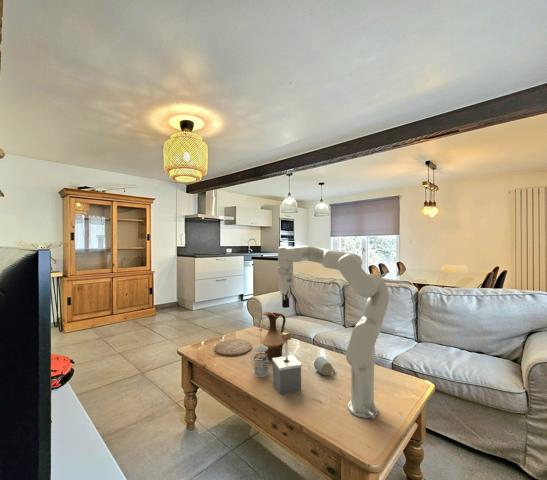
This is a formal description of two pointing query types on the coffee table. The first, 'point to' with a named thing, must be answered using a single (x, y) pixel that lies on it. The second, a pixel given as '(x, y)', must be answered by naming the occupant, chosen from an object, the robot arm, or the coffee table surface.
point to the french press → (260, 361)
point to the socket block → (286, 374)
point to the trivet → (233, 347)
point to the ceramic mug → (323, 366)
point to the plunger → (286, 343)
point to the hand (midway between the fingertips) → (285, 307)
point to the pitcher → (273, 336)
